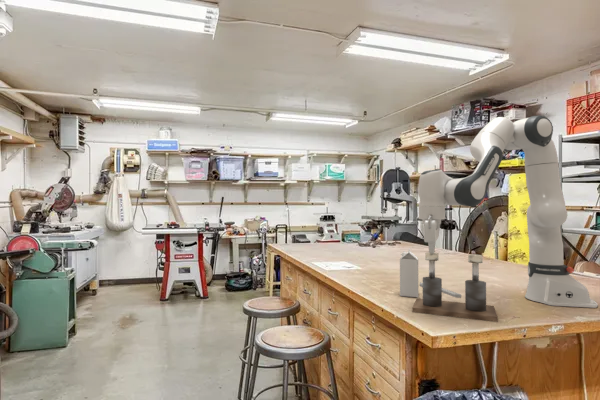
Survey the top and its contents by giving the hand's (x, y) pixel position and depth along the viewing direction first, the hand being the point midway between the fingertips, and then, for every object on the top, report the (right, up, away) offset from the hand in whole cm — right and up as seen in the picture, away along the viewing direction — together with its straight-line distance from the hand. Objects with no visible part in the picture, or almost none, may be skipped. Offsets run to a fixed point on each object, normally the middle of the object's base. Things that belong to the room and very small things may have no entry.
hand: (431, 253), depth 129 cm
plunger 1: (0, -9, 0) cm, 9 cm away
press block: (+6, -20, -3) cm, 21 cm away
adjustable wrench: (+13, -21, +27) cm, 37 cm away
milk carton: (-2, -20, +19) cm, 28 cm away
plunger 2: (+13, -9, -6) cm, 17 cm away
